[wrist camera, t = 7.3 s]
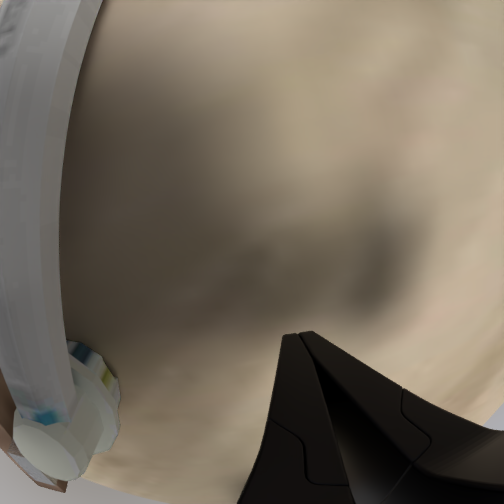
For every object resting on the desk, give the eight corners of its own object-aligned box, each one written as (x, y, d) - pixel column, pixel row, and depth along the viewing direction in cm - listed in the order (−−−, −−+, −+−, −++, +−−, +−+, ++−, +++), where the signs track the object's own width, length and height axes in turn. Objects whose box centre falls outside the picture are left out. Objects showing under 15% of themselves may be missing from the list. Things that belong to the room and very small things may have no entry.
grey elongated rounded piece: (156, -128, 3) (114, 522, 8) (167, -38, 9) (131, 428, 14) (30, -96, 2) (16, 491, 7) (73, -27, 8) (52, 412, 14)
